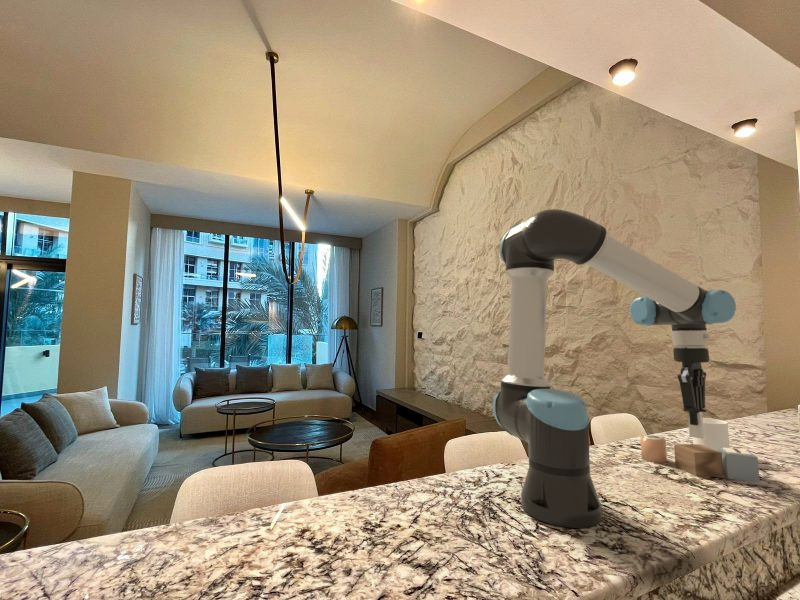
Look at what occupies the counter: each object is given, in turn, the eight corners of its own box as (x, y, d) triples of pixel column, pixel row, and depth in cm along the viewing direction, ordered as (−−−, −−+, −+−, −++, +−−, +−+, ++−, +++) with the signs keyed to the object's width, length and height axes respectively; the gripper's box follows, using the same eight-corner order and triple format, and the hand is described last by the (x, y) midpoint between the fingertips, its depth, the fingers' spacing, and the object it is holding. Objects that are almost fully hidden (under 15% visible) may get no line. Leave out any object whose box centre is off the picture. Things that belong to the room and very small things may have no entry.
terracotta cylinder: (647, 462, 105) (646, 438, 106) (637, 455, 111) (636, 433, 111) (671, 464, 104) (669, 439, 104) (660, 457, 110) (659, 434, 110)
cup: (688, 453, 113) (686, 419, 114) (708, 448, 118) (706, 415, 119) (722, 462, 105) (719, 425, 106) (742, 455, 111) (739, 420, 112)
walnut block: (695, 477, 95) (694, 452, 95) (675, 467, 102) (674, 444, 102) (723, 477, 95) (721, 452, 95) (701, 467, 102) (699, 444, 102)
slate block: (728, 478, 94) (726, 451, 94) (719, 470, 99) (717, 445, 100) (759, 482, 91) (757, 455, 92) (749, 474, 96) (747, 448, 97)
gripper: (698, 348, 94) (705, 444, 92) (715, 346, 102) (723, 436, 100) (664, 347, 100) (670, 438, 98) (683, 346, 108) (689, 430, 106)
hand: (696, 437), depth 99 cm, fingers closed
